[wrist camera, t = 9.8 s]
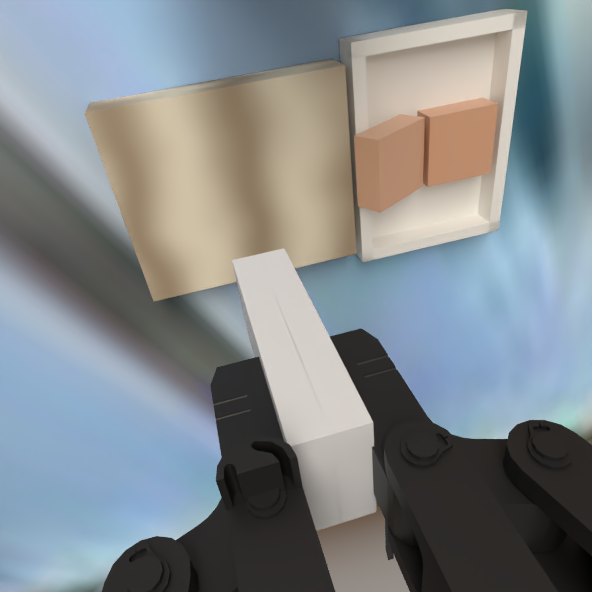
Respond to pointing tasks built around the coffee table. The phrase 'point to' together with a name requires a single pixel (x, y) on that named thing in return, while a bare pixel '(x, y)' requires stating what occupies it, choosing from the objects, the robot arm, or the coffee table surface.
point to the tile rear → (458, 140)
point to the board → (231, 172)
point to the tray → (427, 94)
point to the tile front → (389, 161)
